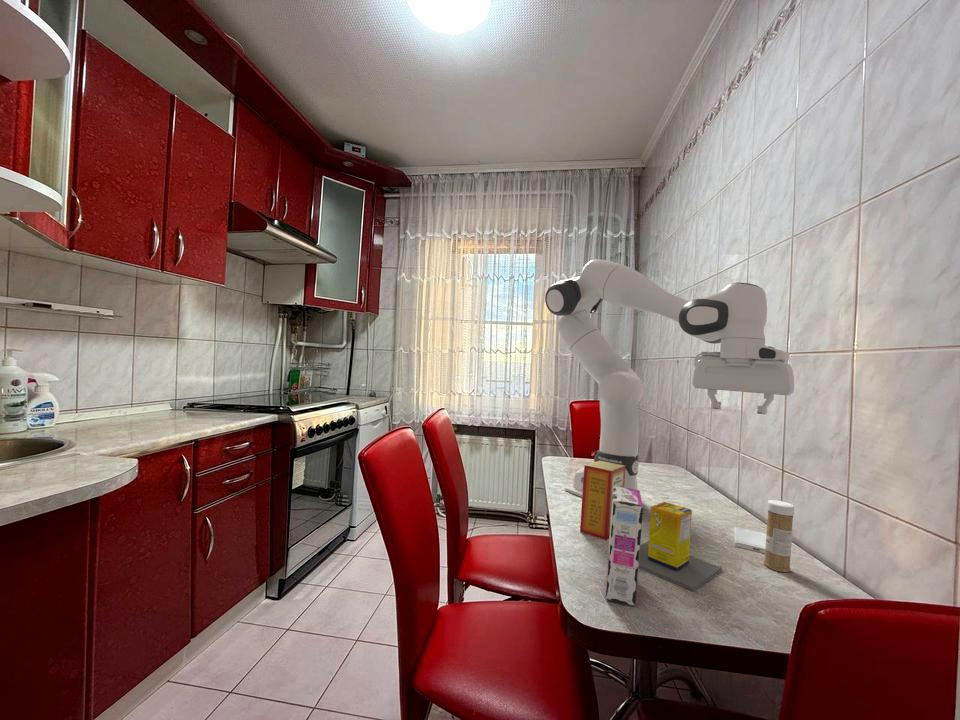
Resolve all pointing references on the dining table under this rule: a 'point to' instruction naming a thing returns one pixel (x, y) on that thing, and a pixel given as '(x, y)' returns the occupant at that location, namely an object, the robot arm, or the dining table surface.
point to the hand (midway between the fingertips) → (738, 411)
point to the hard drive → (750, 539)
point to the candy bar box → (624, 546)
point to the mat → (686, 576)
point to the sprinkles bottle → (779, 535)
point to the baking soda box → (599, 496)
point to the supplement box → (669, 535)
